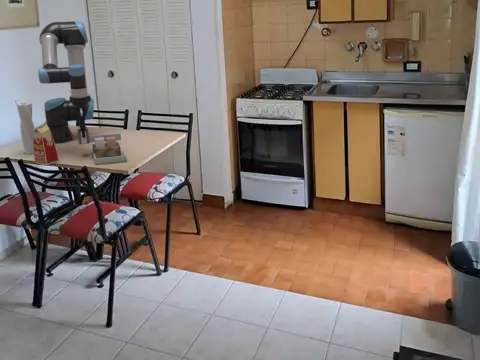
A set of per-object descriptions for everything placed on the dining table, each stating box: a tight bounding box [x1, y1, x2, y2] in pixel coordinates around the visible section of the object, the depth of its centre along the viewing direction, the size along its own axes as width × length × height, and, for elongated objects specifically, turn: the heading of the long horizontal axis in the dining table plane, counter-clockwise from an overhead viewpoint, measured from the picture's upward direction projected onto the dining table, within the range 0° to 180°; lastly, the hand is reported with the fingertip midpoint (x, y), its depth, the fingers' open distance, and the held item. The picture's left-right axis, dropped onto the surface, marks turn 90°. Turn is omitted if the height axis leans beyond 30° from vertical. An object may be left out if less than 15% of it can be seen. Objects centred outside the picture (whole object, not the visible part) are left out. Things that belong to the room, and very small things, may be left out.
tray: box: [92, 150, 128, 166], centre depth 278 cm, size 15×10×3 cm, turn 108°
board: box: [91, 141, 122, 158], centre depth 287 cm, size 13×11×5 cm
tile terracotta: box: [105, 137, 117, 147], centre depth 285 cm, size 4×4×4 cm
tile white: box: [94, 137, 106, 148], centre depth 284 cm, size 4×4×4 cm
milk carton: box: [33, 121, 60, 166], centre depth 273 cm, size 9×9×20 cm
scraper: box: [77, 127, 122, 145], centre depth 287 cm, size 21×4×7 cm, turn 108°
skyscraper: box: [14, 99, 35, 155], centre depth 289 cm, size 8×8×28 cm
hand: (84, 142), depth 286 cm, fingers closed on scraper, 4 cm apart
